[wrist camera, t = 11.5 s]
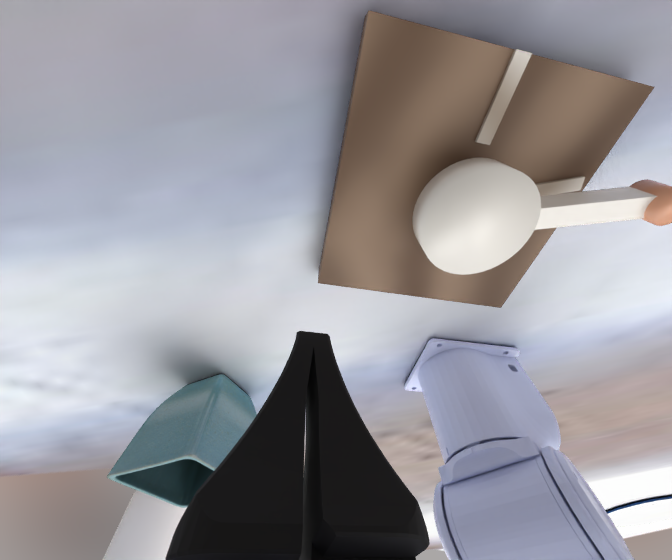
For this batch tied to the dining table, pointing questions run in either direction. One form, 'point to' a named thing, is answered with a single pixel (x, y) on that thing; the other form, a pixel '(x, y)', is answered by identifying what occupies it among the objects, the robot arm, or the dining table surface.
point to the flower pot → (185, 440)
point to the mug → (145, 529)
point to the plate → (643, 527)
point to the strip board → (456, 148)
